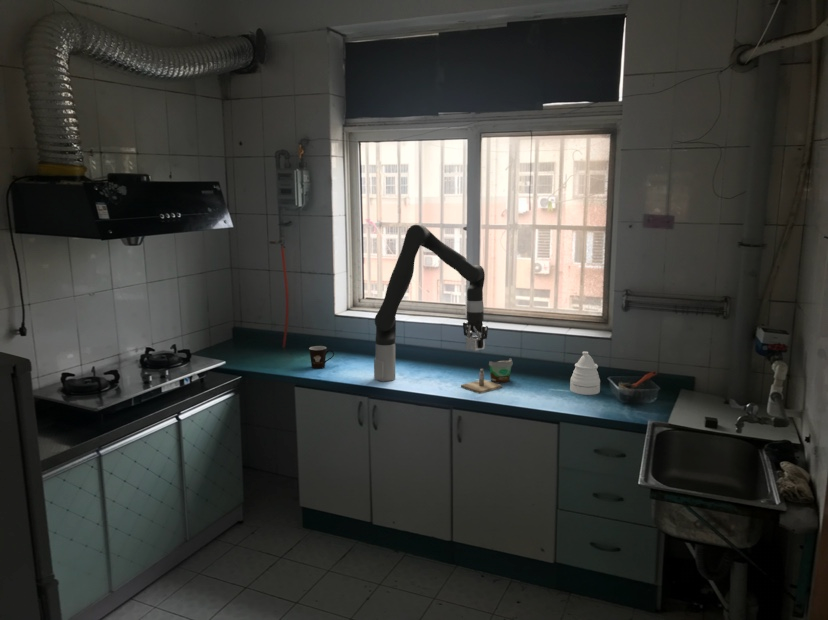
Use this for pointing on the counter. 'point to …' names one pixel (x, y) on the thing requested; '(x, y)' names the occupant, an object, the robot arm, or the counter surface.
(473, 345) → the grey square sleeve
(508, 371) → the food container
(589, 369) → the honey pot
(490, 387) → the block
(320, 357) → the coffee mug
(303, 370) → the counter surface
